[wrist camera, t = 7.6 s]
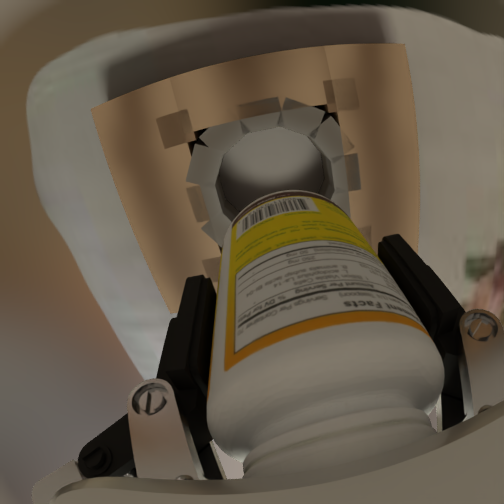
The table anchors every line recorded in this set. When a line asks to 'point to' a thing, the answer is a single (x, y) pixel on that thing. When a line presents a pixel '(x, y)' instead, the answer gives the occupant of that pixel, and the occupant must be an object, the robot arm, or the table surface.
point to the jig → (252, 120)
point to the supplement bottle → (313, 343)
